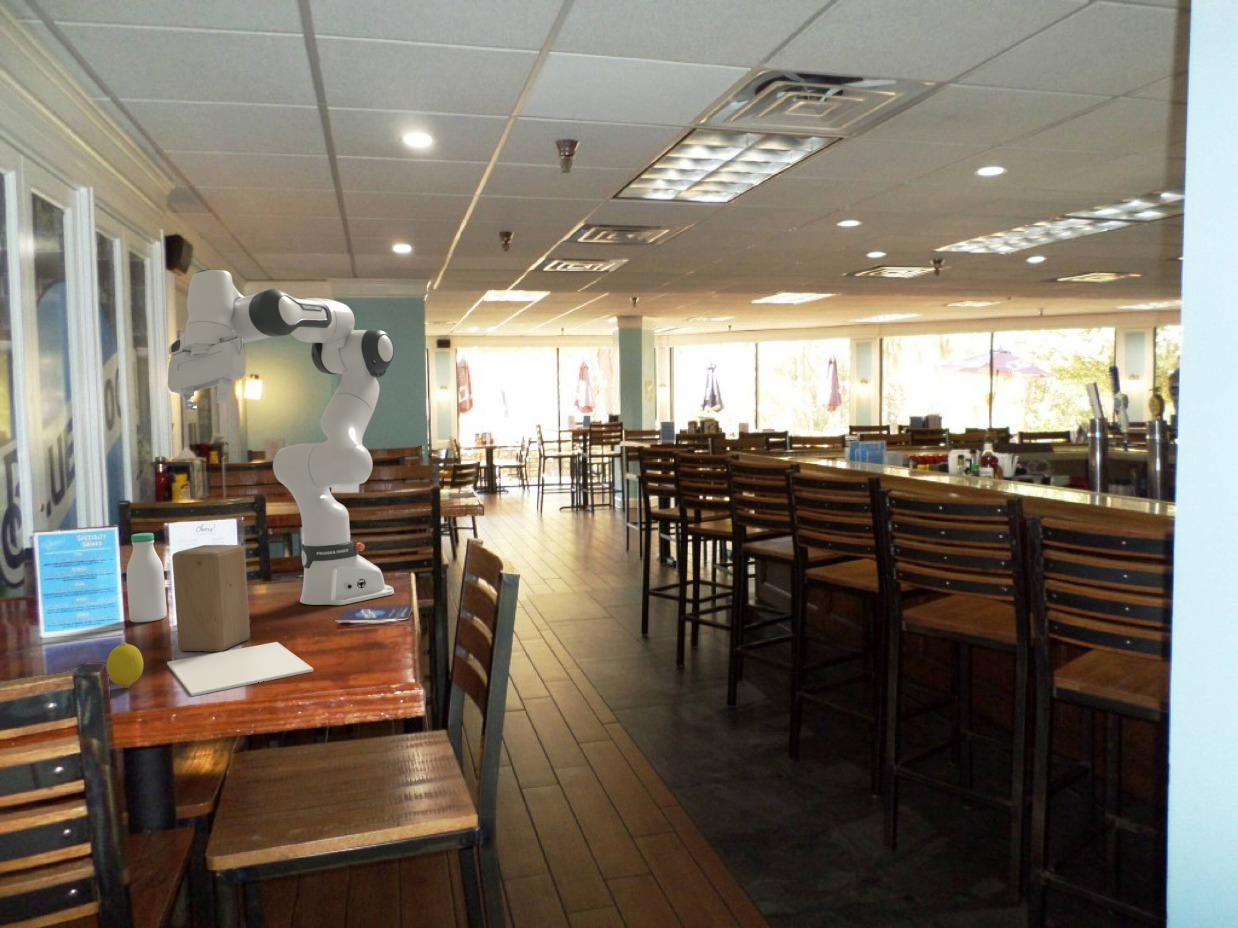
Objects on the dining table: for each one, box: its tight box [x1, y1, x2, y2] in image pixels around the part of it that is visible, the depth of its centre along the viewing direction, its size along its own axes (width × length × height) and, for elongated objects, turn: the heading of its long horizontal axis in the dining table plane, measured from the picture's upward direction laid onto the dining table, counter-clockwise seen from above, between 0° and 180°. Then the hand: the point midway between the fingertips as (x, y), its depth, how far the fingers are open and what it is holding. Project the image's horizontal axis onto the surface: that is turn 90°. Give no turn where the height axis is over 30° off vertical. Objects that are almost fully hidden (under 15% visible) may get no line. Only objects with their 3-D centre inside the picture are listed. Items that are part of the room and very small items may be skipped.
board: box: [166, 641, 314, 697], centre depth 160 cm, size 20×24×1 cm
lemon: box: [106, 642, 144, 689], centre depth 150 cm, size 6×6×8 cm
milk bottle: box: [126, 532, 168, 623], centre depth 202 cm, size 8×8×20 cm
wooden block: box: [171, 544, 251, 653], centre depth 176 cm, size 10×10×20 cm
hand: (204, 406), depth 178 cm, fingers open, 8 cm apart
